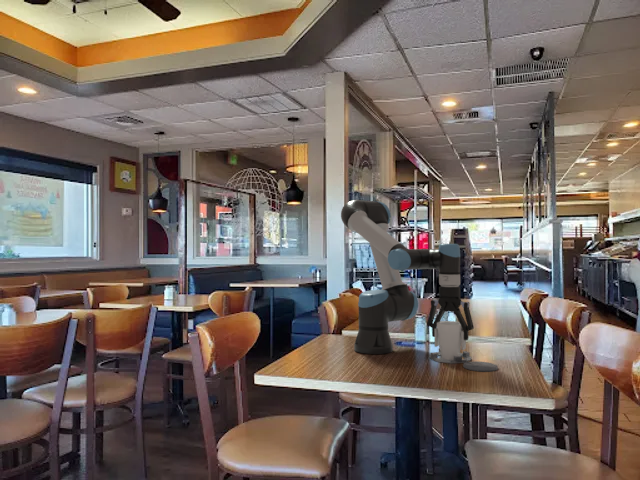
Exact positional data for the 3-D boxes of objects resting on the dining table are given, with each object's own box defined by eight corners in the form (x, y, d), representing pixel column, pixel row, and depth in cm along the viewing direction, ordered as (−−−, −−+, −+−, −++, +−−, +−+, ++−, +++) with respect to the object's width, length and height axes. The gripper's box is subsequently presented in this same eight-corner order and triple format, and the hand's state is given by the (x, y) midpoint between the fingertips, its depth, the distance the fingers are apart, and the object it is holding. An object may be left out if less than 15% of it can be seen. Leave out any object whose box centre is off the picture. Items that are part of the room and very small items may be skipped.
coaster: (458, 368, 163) (458, 366, 163) (469, 362, 172) (469, 359, 172) (492, 373, 157) (492, 370, 157) (501, 366, 166) (501, 364, 166)
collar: (424, 359, 176) (424, 353, 176) (439, 352, 187) (438, 347, 187) (462, 365, 168) (462, 358, 168) (474, 357, 179) (474, 351, 179)
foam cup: (464, 362, 172) (464, 325, 172) (437, 361, 174) (437, 324, 174) (462, 356, 181) (461, 321, 182) (436, 355, 183) (436, 320, 183)
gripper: (417, 285, 181) (417, 345, 181) (476, 288, 169) (477, 353, 168) (425, 284, 187) (425, 342, 187) (483, 286, 175) (483, 349, 174)
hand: (450, 347), depth 178 cm, fingers closed on foam cup, 9 cm apart
